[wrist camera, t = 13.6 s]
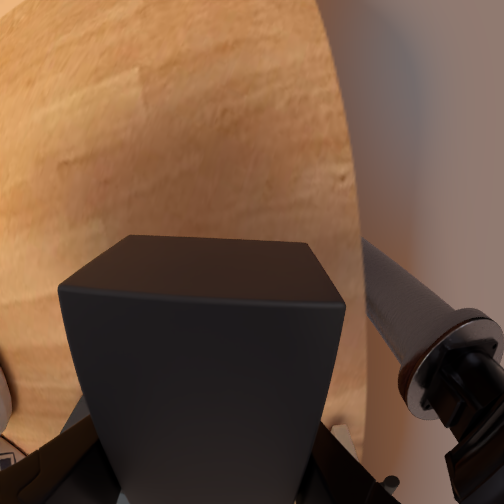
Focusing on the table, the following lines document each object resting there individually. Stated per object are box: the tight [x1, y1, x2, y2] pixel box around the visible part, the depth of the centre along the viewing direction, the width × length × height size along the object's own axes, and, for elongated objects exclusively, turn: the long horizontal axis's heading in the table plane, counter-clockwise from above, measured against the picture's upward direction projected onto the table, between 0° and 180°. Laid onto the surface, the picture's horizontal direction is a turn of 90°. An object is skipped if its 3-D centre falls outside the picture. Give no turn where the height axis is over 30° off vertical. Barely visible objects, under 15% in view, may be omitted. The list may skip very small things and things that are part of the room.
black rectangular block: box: [58, 235, 346, 504], centre depth 7 cm, size 4×10×4 cm, turn 177°
